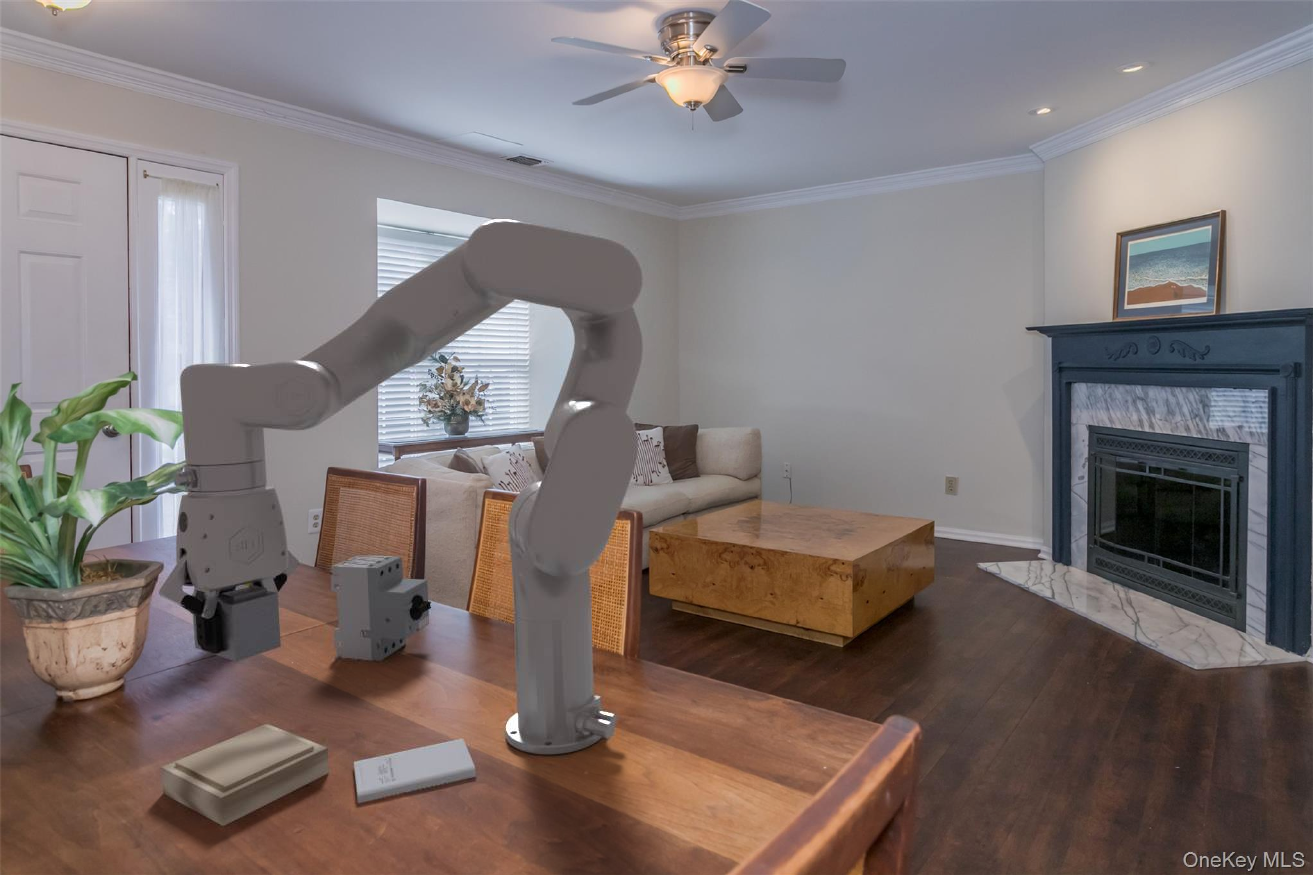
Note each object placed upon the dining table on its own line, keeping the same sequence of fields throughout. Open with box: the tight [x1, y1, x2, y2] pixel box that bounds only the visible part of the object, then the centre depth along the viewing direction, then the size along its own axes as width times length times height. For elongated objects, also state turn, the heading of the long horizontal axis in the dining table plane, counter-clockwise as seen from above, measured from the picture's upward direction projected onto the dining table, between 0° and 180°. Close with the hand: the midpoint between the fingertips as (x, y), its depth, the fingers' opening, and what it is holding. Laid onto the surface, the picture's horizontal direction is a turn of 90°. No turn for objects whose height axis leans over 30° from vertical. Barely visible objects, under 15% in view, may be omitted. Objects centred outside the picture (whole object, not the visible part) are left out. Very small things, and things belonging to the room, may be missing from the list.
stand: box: [160, 723, 330, 827], centre depth 86 cm, size 12×12×3 cm
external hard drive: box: [353, 738, 477, 804], centre depth 88 cm, size 2×8×12 cm
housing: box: [191, 585, 282, 662], centre depth 85 cm, size 8×5×7 cm, turn 58°
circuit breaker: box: [330, 554, 432, 662], centre depth 126 cm, size 8×14×15 cm, turn 79°
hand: (238, 641), depth 85 cm, fingers closed on housing, 5 cm apart
